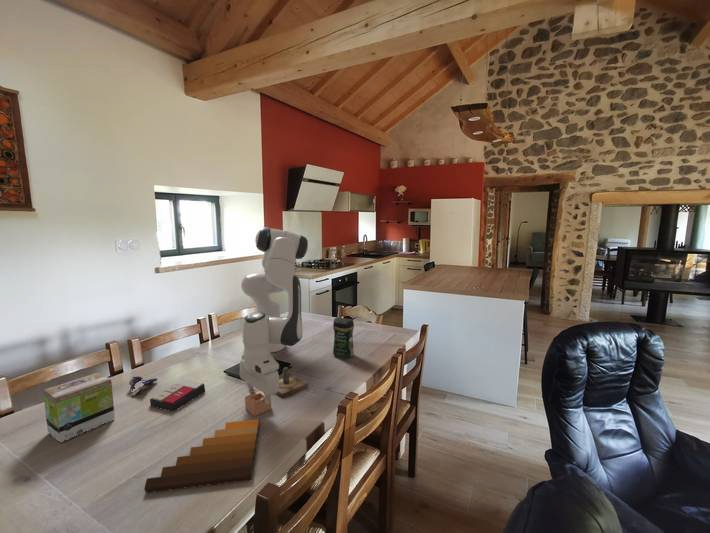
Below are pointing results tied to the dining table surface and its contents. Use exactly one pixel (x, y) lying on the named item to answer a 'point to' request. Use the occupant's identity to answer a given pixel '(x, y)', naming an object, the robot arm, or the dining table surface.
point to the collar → (256, 403)
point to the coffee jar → (343, 338)
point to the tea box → (78, 405)
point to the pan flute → (213, 460)
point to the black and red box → (177, 395)
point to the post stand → (290, 384)
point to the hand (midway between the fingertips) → (259, 398)
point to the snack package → (146, 383)
